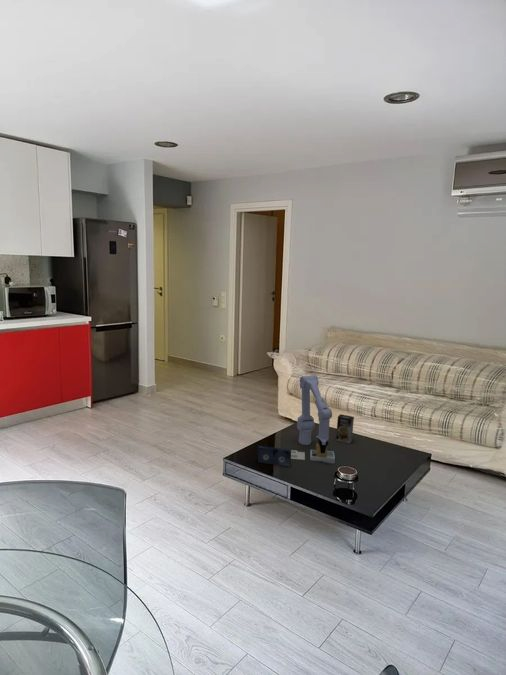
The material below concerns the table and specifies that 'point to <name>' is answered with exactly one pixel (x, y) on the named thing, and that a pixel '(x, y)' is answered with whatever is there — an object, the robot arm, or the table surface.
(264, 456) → the vhs cassette tape
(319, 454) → the block
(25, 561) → the table surface
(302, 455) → the box
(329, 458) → the parts tray
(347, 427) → the coffee box
